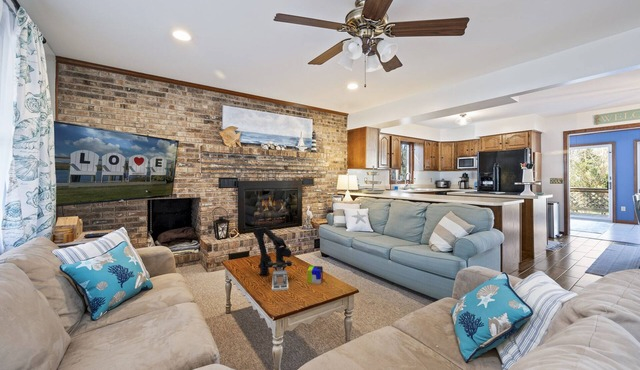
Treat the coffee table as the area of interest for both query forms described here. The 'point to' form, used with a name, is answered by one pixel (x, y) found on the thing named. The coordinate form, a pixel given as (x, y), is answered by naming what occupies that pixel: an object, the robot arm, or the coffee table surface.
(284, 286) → the board
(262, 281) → the coffee table surface
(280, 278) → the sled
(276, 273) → the tunnel
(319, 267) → the puzzle toy
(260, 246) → the robot arm
